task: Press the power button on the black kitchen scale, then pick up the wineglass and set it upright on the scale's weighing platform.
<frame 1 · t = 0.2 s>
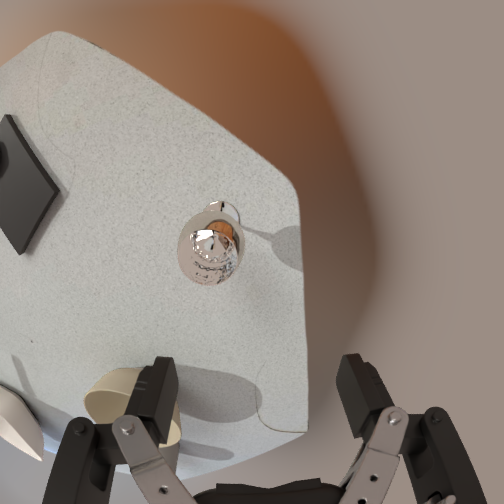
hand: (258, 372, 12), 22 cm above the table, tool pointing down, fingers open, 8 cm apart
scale: (12, 183, 28), on the table
wineglass: (220, 219, 32), on the table
cup: (162, 441, 50), on the table
pan: (5, 383, 46), on the table
bowl: (145, 378, 41), on the table
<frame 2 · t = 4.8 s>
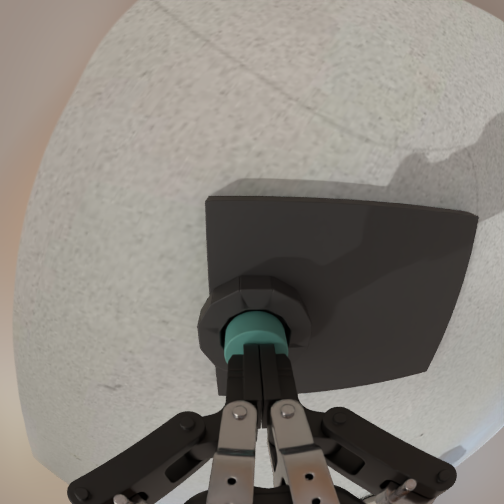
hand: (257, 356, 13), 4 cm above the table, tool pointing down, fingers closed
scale: (350, 305, 17), on the table
power button: (255, 344, 14), point 3 cm above the table, slide at 0.1 cm, touching gripper
pan: (348, 503, 40), on the table
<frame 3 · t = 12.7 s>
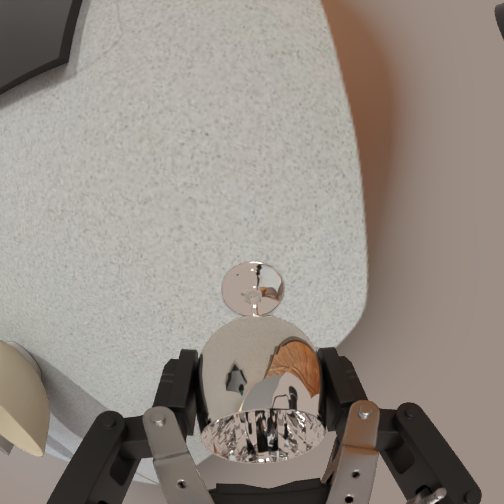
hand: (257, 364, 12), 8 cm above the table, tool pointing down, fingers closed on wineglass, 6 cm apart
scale: (31, 9, 9), on the table
wineglass: (252, 288, 20), on the table, touching gripper
cup: (11, 406, 28), on the table
bowl: (24, 359, 23), on the table
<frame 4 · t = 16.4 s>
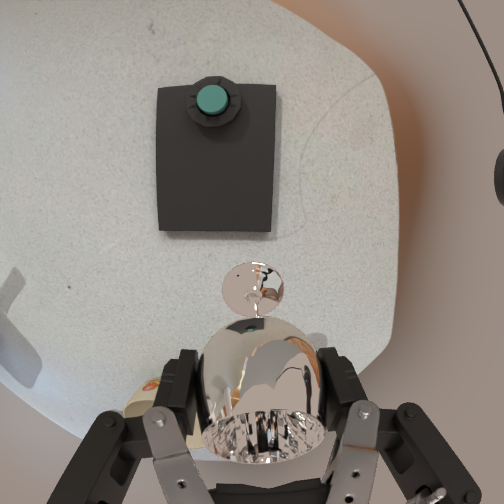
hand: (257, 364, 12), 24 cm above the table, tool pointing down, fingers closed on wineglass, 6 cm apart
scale: (214, 156, 31), on the table
wineglass: (252, 289, 20), point 16 cm above the table, touching gripper
power button: (212, 100, 26), point 4 cm above the table, slide at 0.1 cm
bowl: (179, 385, 45), on the table
when the fingers open (9 cm above the table, at t = 20.4 s): wineglass stays where it is, resting on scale.
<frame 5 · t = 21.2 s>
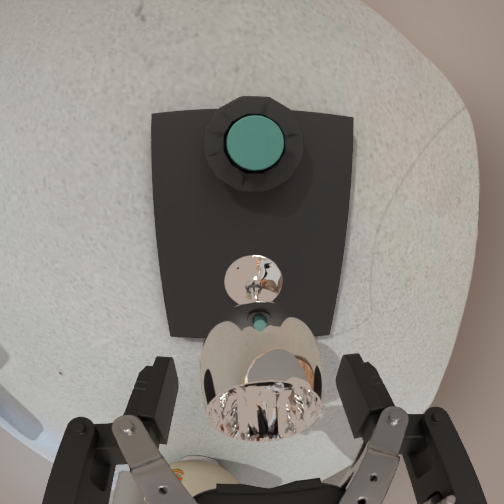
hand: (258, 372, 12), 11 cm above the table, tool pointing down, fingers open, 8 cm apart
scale: (251, 231, 21), on the table
wineglass: (253, 280, 21), point 1 cm above the table, touching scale
cup: (137, 478, 40), on the table
power button: (254, 143, 15), point 4 cm above the table, slide at 0.1 cm
bowl: (200, 461, 34), on the table
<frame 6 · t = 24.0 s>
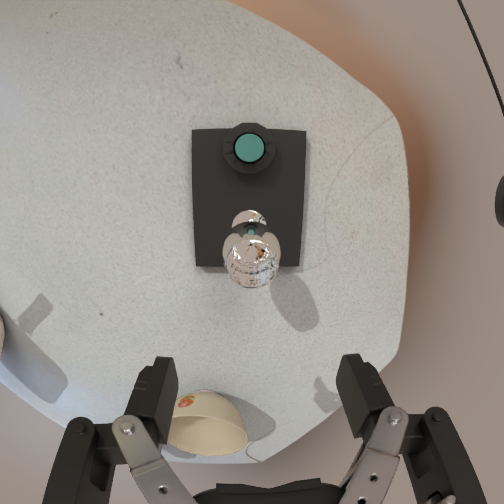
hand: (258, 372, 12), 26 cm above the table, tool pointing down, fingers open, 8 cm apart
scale: (248, 198, 35), on the table
wineglass: (249, 226, 35), point 1 cm above the table, touching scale
power button: (249, 147, 29), point 4 cm above the table, slide at 0.1 cm
bowl: (207, 398, 49), on the table
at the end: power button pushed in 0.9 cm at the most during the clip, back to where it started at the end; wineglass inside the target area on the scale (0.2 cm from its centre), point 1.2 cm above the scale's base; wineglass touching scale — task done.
